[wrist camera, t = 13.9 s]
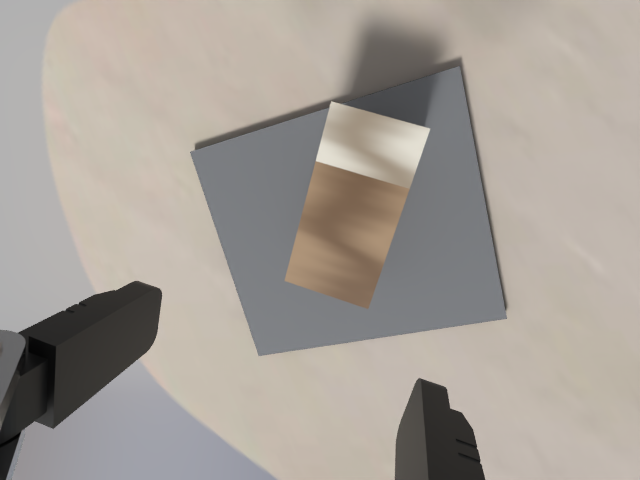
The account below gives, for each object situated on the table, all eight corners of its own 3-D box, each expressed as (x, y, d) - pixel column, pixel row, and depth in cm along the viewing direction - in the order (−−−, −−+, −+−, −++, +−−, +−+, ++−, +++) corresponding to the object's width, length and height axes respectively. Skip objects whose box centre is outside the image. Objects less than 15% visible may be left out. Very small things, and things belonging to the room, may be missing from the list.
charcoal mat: (458, 67, 22) (459, 65, 21) (504, 314, 25) (506, 318, 25) (194, 151, 27) (189, 151, 26) (261, 351, 30) (258, 355, 29)
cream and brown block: (373, 277, 26) (423, 130, 23) (368, 309, 21) (430, 128, 18) (304, 255, 26) (344, 109, 23) (284, 280, 21) (331, 101, 18)
